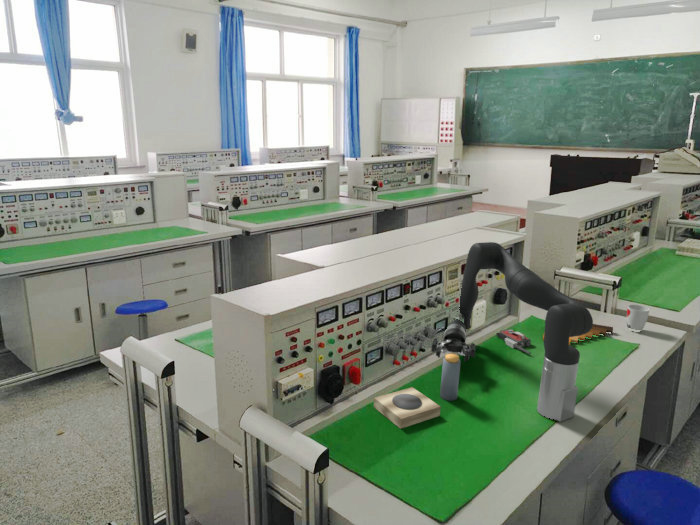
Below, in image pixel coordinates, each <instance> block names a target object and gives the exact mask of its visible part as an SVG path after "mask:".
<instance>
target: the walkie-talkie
mask: <svg viewBox="0 0 700 525" xmlns="http://www.w3.org/2000/svg"><path fill="white" fill-rule="evenodd" d="M495 335H496V336H497V337H498V338H499V339H501V340H503V341H504V342H505V345H507V346H508V347H511V349H517V350H519V351H521V352H523V353H526V354H529V355H532V353H531V351H529V350H527V349H525V348H524V346H525V347H530V346H531V342H532V341H531V340H532V339H530V338H528V337H526V335H525V334H524V333H522V332H520V331H514V329H510V328H507V329H502V330H499V332H496V334H495Z"/></svg>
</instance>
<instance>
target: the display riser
mask: <svg viewBox="0 0 700 525" xmlns="http://www.w3.org/2000/svg"><path fill="white" fill-rule="evenodd" d="M373 408H374V409H376V410H377V411H378V412H379V413H380V414H381V415H383V416H384V417H385V418H387V419H388V421H390V422H391V423H393V424H394V425H395V426H397V427H398V429H400V430H401V429H405V428H407V427H411V426H413V425H416V424H420V423H422V422H425V421H428V420H432V419H434V418H437V417H440V415H441V408H442V407H441V405H439V404H437V403H436V402H435V401H433V400H432V399H431V398H429V397H427V396H426V395H425V394H423V393H422V392H420V391H419V390H417V389H416V388H414V387H413V386H411V387H408V388H405V389H401V390H397V391H393V392H390V393H386V394H383V395H378V396H376V397H373Z"/></svg>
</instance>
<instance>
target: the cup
mask: <svg viewBox="0 0 700 525" xmlns="http://www.w3.org/2000/svg"><path fill="white" fill-rule="evenodd" d="M649 313H650V308H649V307H647V306H644V305H641V304H640V305H639V304H628V305H627V308H626V328H627V327H628V328H631V329H635V330H642V331H643V329H644V328H645V326H646V323H647V321H648V318H649V315H650V314H649ZM628 328H627V329H628Z"/></svg>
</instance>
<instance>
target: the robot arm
mask: <svg viewBox="0 0 700 525" xmlns="http://www.w3.org/2000/svg"><path fill="white" fill-rule="evenodd" d="M480 270H496V271H499V273H501V274H503V275H504V283H505V286H506V288H507V289H508V290H509V292H510V293H511V294H513V296H515V297H516V298H517V299H518V300H520V301H522V302H523V303H526V304H528V305H530V306H533V307H536V308H538V309H542V310H544V311H547V312H546V314H545V315H546V316H545V318H544V319H545V321H544V333H543V335H544V341H543V348H544V358H543V363H542V370H541V371H542V372H541V377H540V385H539V391H538V392H539V393H538V400H537V405H536V406H537V407H536V411H537V412H538V414H540V415H541V416H542V417H544V416H545V417H544V418H547V419H549V418H550V419H549V420H553V419H554V421H557V422H563V421H566V420H570V419H572V418H573V417H574V414H575V409H576V405H577V404H576V403H577V397H578V391H579V390H578V389H579V388H578V386H577V385H576V382H577V375H578V370H579V369H578V368H579V364H580V363H579V362H580V357H581V356H580V355H581V354H580V351H579V349H578V348H576V347H574V346H572V345H571V344H570V345H569V337H574V336H580V335H584V334H586V333H588V332H589V331H590V330H591V329H592V326H593V324H594V319H593V316H592V314H591V312H590V310H588V308H587V307H586V306H584V305H583V304H582V303H581V302H579V301H577V300H575V299H574V298H572V297H570V296H568V295H566V294H564V293H563V292H561V291H560V290H558V289H557V288H555V287H554V286H552V284H550V283H549V282H548V281H546V280H544V279H543V278H541V276H540V275H538V274H537V273H535V272H533V270H531V269H530V268H528V267H526V266H525V265H524V264H523V263H522V262H520V261H519V260H518V259H516V258H515V257H513V255H512V254H511V253H509V252H508V250H506V249H505V248H504V247H503V246H502V244H500V243H498V242H495V241H494V242H493V241H489V242H487V241H486V242H485V241H484V242H475V243H473V244H472V245H471V246H470V248H469V250H468V254H467V257H466V261H465V266H464V270H463V275H462V276H463V277H462V282H461V285H462V288H461V287H460V288H461V296H460V307H459V308H460V309H459V310H460V313H461V314H462V315H463V316H464V323H463V322H462V321H460V320H458V319H456V320H454V321H452V322H451V323H450V324H449V325H448V327H447V329H446V330H445V331H444V333H443V339H442V340H441V341H439V340H438V338H436V337H435V338H433V340H432V343H431V352H433V353H434V352H435V356H436V357H437V358H441V354H445V353H449V352H450V353H457V354H459V355H460V356H464V359H463V361H464V362H467V361H469V360H470V358H476V344H475V343H473V342H471V343H470V344H467V343H466V341H467V334H466V333H467V332H466V329H469V327H470V328H471V326H470V319H471V320H472V314H473V310H474V307H475V306H476V303H477V301H478V297H479V287H478V284H477V276H478V275H479V274H478V273H479V272H480ZM469 330H470V329H469Z"/></svg>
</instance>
